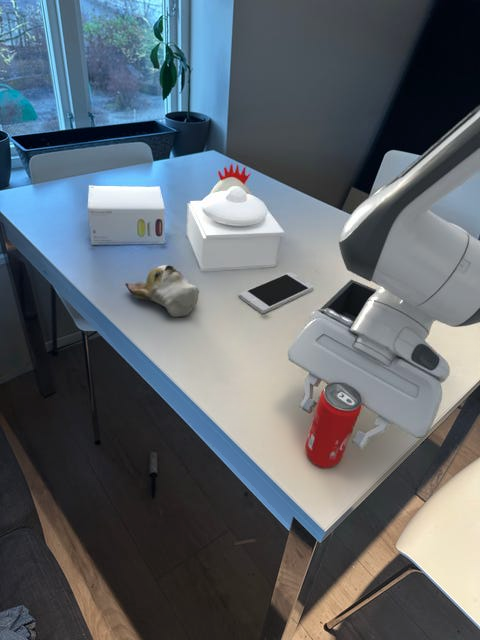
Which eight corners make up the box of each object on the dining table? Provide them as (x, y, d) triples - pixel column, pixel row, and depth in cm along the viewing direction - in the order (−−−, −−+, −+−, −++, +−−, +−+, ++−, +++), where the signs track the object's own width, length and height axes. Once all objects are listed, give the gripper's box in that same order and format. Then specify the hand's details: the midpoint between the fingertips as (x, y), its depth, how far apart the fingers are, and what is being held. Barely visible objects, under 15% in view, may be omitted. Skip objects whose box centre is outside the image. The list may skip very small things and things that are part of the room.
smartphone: (238, 296, 91) (238, 292, 90) (289, 274, 100) (290, 271, 99) (262, 314, 87) (263, 310, 87) (313, 289, 96) (314, 286, 95)
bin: (405, 340, 85) (420, 307, 80) (380, 379, 76) (394, 344, 71) (341, 311, 91) (351, 279, 86) (310, 344, 82) (318, 309, 77)
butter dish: (186, 234, 111) (188, 171, 101) (255, 232, 116) (263, 171, 106) (201, 272, 97) (205, 202, 88) (278, 267, 102) (290, 201, 93)
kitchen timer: (249, 236, 113) (256, 178, 104) (197, 226, 115) (200, 168, 106) (259, 214, 124) (266, 160, 115) (211, 206, 126) (214, 151, 117)
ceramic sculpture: (168, 290, 75) (119, 258, 83) (169, 332, 80) (123, 297, 88) (215, 271, 81) (165, 243, 90) (214, 311, 86) (167, 281, 95)
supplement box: (90, 246, 101) (86, 207, 96) (92, 220, 111) (88, 184, 106) (165, 244, 105) (165, 207, 100) (160, 220, 115) (160, 185, 110)
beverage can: (318, 433, 65) (337, 374, 58) (348, 456, 63) (371, 397, 55) (296, 452, 62) (313, 393, 55) (325, 477, 60) (348, 418, 52)
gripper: (313, 295, 61) (259, 382, 60) (462, 372, 51) (399, 476, 51) (323, 309, 66) (274, 388, 66) (459, 380, 57) (403, 474, 56)
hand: (330, 427), depth 58 cm, fingers open, 7 cm apart
